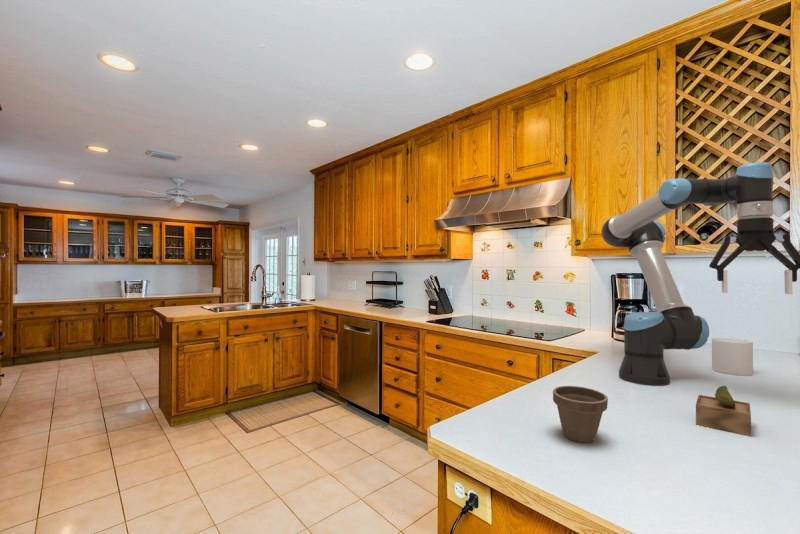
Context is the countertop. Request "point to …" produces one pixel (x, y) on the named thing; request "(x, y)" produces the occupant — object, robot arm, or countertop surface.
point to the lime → (724, 397)
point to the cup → (732, 356)
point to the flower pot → (579, 411)
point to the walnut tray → (723, 415)
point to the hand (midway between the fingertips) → (755, 293)
